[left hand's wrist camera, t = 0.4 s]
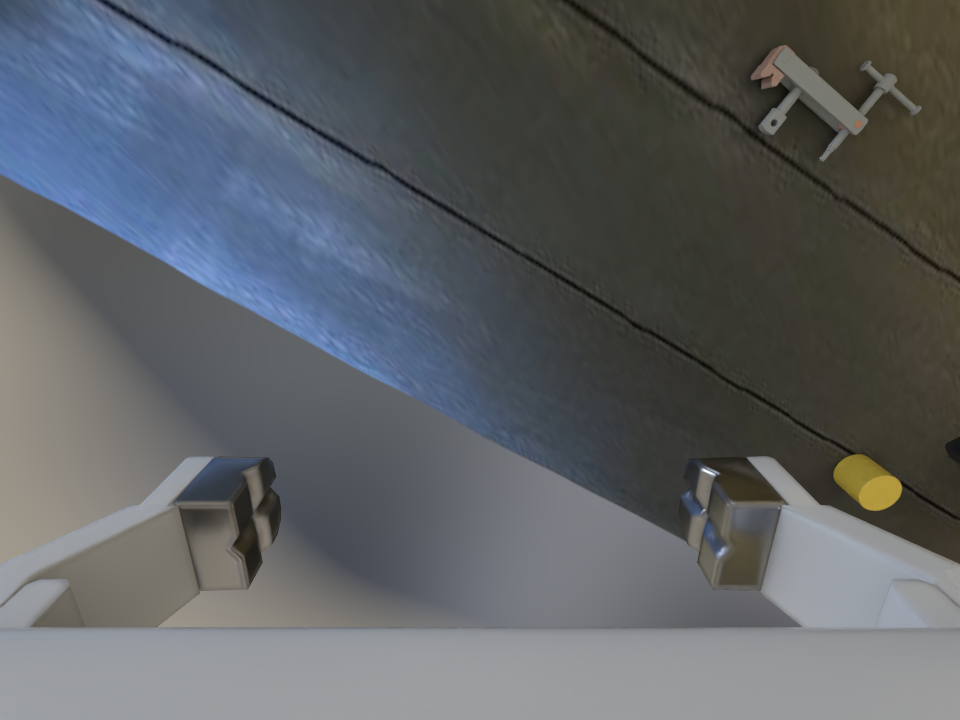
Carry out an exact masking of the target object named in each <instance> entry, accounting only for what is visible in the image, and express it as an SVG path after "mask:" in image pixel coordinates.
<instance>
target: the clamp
mask: <svg viewBox="0 0 960 720" xmlns="http://www.w3.org/2000/svg"><path fill="white" fill-rule="evenodd" d="M864 70H865V71H866V72H867V73H868V74H870V75H871V76H872V77H873V78H874V79H875V80H876V81H877V83H876V85H875V86H874V87H873V90H874V91H873V93H872V94H871V95H870V96H869V97H868V99H867V100H866V101H865V102H864V103H863V105H862V106H861V107H860V108H859V109H858V110H856V109H855V108H854V107H853V106H852V105H851V104H850V103H849V102H848V101H846V100H845V99H844V98H843V97H842V96H841V95H840V94H839V93H837V92H836V91H835V90H834V89H833V88H832V87H831V86H830V85H828V84H827V83H826V82H825V81H824V80H823V79H822V78H821V77H820V76H818V74H819V72H818V70H817V69H815V68H814V67H808V66H807V65H806V64H805V63H804V62H803V61H802V60H800V59H799V58H798V57H797V56H796V55H795V53H794V52H793V51H792V50H791V49H790V48H789V47H788V46H787V45H784V46H780V47H777V48H774V49H772V50H771V52H770V53H769V54H768V56H767V57H766V58H765V60H764V61H763V62H762V64H761V65H759V66H758V67H757V69H756V70H755V71H754V72H753V74H752V75H751V81H752V80H757V79H761V78H763V79H762V80H761V89H766V88H770V87H774V86H777V85H778V83H779V82H780V83H781V84H782V85H783V86H785V87H786V88H787V89H788V90H789V91H790V92H789V93H788V95H787V96H786V97H785V98H784V100H783V101H782V102H781V104H780V105H779V106H778V107H777V109H776V108H772V110H771V111H770V112H769V113H768V115H767V116H766V117H765V118H764V120H763V121H762V122H761V124H760V125H759V126H758V128H759V129H760V130H761V132H763V133H764V134H766V135H773V134H774V133H775V132H776V131H777V129H778V128H779V127H780V126H781V124H782V123H783V122H784V121H785V119H786V118H787V117H786V116H785V114H786V113H787V111H788V110H789V109H790V108H791V106H792V105H793V104H794V103H795V101H796V100H797V99H800V100H801V101H802V102H803V103H804V104H805V105H806V106H808V107H809V108H810V109H811V110H812V111H813V112H814V113H816V114H817V115H818V116H819V117H820V118H821V119H823V120H824V121H825V122H826V123H827V124H828V125H829V126H831V127H832V128H833V129H834V130H835V131H836V132H837V133H838V134H837V136H836V137H835V138H834V139H833V140H832V142H831V143H830V144H829V145H828V148H827V149H826V151H825V152H824V153H823V155H822V156H821V157H820V158H819V160H820V161H822V162H824V161H825V159H826V158H827V157H828V156H829V155H830V153H832V152H833V151H834V150H836V148H837V147H838V146H839V145H840V144H841V143H842V141H843V140H844V139H845V138H846V137H847V135H848V134H852V135H857V134H858V133H859V132H860V131H861V130H862V129H863V128H864V126H865V125H866V124H867V122H868V119H867V118H865V117H864V115H865V114H866V113H867V112H868V111H869V109H870V108H871V107H872V106H873V105H874V103H875V102H876V101H877V100H878V99H879V97H880V96H881V95H885V94H887V92H888V91H889V92H890V93H891V94H892V95H893V96H894V97H895V98H896V99H897V100H899V101H900V102H901V103H902V104H903V105H904V106H905V107H906V108H907V109H909V110H910V113H909V114H910V115H911V116H912V115H915V114H917V113H918V112H919V111H920V110H921V106H915V105H914V104H913V103H912V102H911V101H910V100H909V99H907V98H906V97H905V96H904V95H903V94H902V93H901V92H900V91H899V90H897V89H896V88H895V87H894V86H893V85H894V84H895V83H896V82H897V78H896V76H895V75H893V74H890V73H887V74H884V75H883V76H882V75H881V74H880V73H879V72H877V71H876V70H875V69H874V68H873V67H872V66H871V61H870V60H869V61H866V62H865V63H864V64H863V65H862V66H861V67H860V71H864ZM771 121H772V125H771Z"/></svg>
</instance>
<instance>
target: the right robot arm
mask: <svg viewBox="0 0 960 720" xmlns="http://www.w3.org/2000/svg"><path fill="white" fill-rule="evenodd" d="M945 448H946V450H947V453H948V455H949V457H950V458H951V459H953V460H955V461H956V462H958V463H959V464H960V437H959V438H957V439H955V440H952V441H950V442H948V443H947V444H946V446H945Z"/></svg>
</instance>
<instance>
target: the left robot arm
mask: <svg viewBox="0 0 960 720" xmlns="http://www.w3.org/2000/svg"><path fill="white" fill-rule="evenodd" d="M275 478H276V474H275V470H274V465H273V462H272V461H271V460H270V459H269V458H262V457H216V456H204V457H190V458H186V459H185V460H184V461H183V462H182V463H181V464H180V465H179V466H178V467H177V468H176V469H175V471H173V472H172V473H171V474H170V475H169V476H168V477H167V478H166V479H165V480H164V481H163V482H162V483H161V484H160V485H159V486H158V487H157V489H155V491H153V492H152V494H151V495H149V497H148V498H147V499H146V500H145V501H144V502H143V503H142V504H141V505H136V506H129V507H127V508H124V509H122V510H120V511H118V512H115V513H113V514H111V515H109V516H106V517H104V518H102V519H100V520H98V521H95V522H93V523H91V524H89V525H86V526H84V527H82V528H80V529H78V530H75V531H73V532H71V533H69V534H66V535H64V536H62V537H60V538H58V539H55V540H53V541H51V542H49V543H46V544H44V545H42V546H40V547H37V548H35V549H33V550H31V551H29V552H26V553H24V554H22V555H20V556H17V557H15V558H13V559H11V560H8V561H6V562H4V563H2V564H0V720H960V564H958V563H956V562H953V561H951V560H949V559H947V558H945V557H942V556H940V555H938V554H936V553H933V552H931V551H929V550H927V549H925V548H922V547H920V546H918V545H916V544H913V543H911V542H909V541H907V540H905V539H902V538H900V537H898V536H896V535H893V534H891V533H889V532H887V531H885V530H882V529H880V528H878V527H876V526H873V525H871V524H869V523H867V522H865V521H862V520H860V519H858V518H856V517H853V516H851V515H849V514H847V513H845V512H842V511H840V510H838V509H836V508H833V507H831V506H825V505H819V503H818V502H817V501H816V500H815V499H814V498H813V497H812V496H811V495H810V494H809V493H808V492H807V491H806V490H805V489H804V488H803V487H802V486H801V485H800V484H799V483H798V482H797V481H796V480H795V479H794V478H793V477H792V476H791V475H790V474H789V473H788V472H787V471H786V470H785V469H784V468H783V467H782V466H781V465H780V464H779V463H778V462H777V461H776V460H775V459H773V458H771V457H768V456H756V457H726V458H691V459H689V461H688V463H687V465H686V468H685V474H684V478H685V480H686V481H687V483H688V484H689V486H690V488H689V489H688V490H687V491H686V492H685V493H684V494H683V495H682V496H681V498H680V506H679V519H680V527H681V530H682V533H683V536H684V538H685V540H686V542H687V544H688V545H689V546H690V547H692V548H693V549H695V550H696V551H698V552H699V556H698V564H699V566H700V568H701V570H702V572H703V573H704V575H705V577H706V579H707V581H708V583H709V584H710V586H711V588H712V590H745V591H761V592H760V593H761V594H762V595H763V596H764V597H766V598H767V599H768V600H770V601H771V602H772V603H773V604H775V605H776V606H777V607H779V608H780V609H781V610H782V611H783V612H785V613H786V614H787V615H789V616H790V617H791V618H792V619H794V620H795V621H796V622H797V623H799V624H800V625H801V626H802V627H803V628H802V627H799V628H796V627H795V628H794V627H792V628H789V627H786V628H785V627H782V628H781V627H777V628H203V627H201V628H200V627H198V628H193V627H192V628H190V627H189V628H188V627H187V628H186V627H185V628H184V627H183V628H181V627H180V628H179V627H177V628H176V627H175V628H174V627H172V628H168V627H167V628H165V627H164V628H163V627H162V628H161V627H160V628H159V627H158V626H159V625H160V624H162V623H163V622H164V621H165V620H167V619H168V618H169V617H170V616H172V615H173V614H174V613H175V612H177V611H178V610H179V609H180V608H182V607H183V606H184V605H186V604H187V603H188V602H189V601H191V600H192V599H193V598H194V597H196V596H197V595H198V594H199V593H200V592H199V591H215V590H247V589H248V588H249V586H250V584H251V583H252V581H253V579H254V577H255V575H256V573H257V572H258V570H259V568H260V566H261V564H262V556H261V552H262V551H264V550H265V549H267V548H268V547H270V546H271V545H272V544H273V542H274V540H275V538H276V536H277V534H278V530H279V525H280V521H281V505H280V498H279V496H278V495H277V494H276V493H275V492H274V491H273V490H272V489H271V488H270V486H271V484H272V483H273V481H274V480H275Z"/></svg>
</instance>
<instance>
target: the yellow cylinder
mask: <svg viewBox="0 0 960 720" xmlns="http://www.w3.org/2000/svg"><path fill="white" fill-rule="evenodd" d="M834 480H835V482H836V483H837V484H838V485H839V486H840V487H841V488H843V489H844V490H845V491H846V492H847V493H848V494H849V495H850V496H851V497H853V498H854V499H855V500H856V501H857V502H858V503H859V504H860V505H861V506H862V507H864V508H865V509H868V510H872V511H877V510H883V509H885V508H888V507H890V506H891V505H893V504H894V503H895V502H896V501H897V500H898V498H899V497H900V495H901V492H902V486H901V483H900V481H899V480H898V479H897V478H895V477H894V476H893V475H891V474H890V473H889V472H887V471H886V470H885V469H883V468H882V467H881V466H879V465H878V464H877V463H876V462H874V461H873V460H872V459H870V458H869V457H867V456H865V455H861V454H856V455H851V456H848V457H846V458H844V459H843V460H841V461H840V462H839V463H838V465H837V466H836V468H835V470H834Z"/></svg>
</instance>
